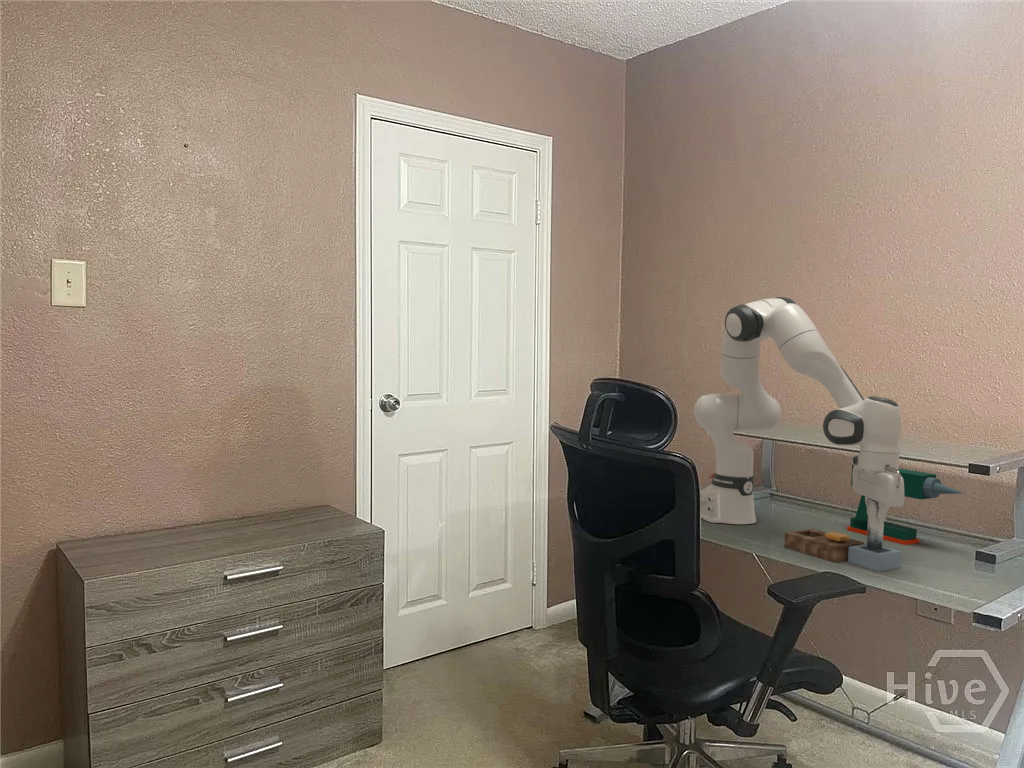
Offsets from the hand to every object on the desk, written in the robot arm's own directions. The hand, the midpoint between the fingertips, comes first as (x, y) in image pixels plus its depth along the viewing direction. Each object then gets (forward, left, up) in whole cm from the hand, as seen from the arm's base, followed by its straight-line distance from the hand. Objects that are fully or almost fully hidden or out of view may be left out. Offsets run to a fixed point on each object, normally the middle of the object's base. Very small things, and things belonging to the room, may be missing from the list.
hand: (876, 517), depth 192 cm
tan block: (-9, -2, -11) cm, 15 cm away
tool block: (-14, -2, -12) cm, 18 cm away
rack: (0, 0, -12) cm, 12 cm away
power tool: (-12, +30, -12) cm, 35 cm away
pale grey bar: (0, 0, -8) cm, 8 cm away
